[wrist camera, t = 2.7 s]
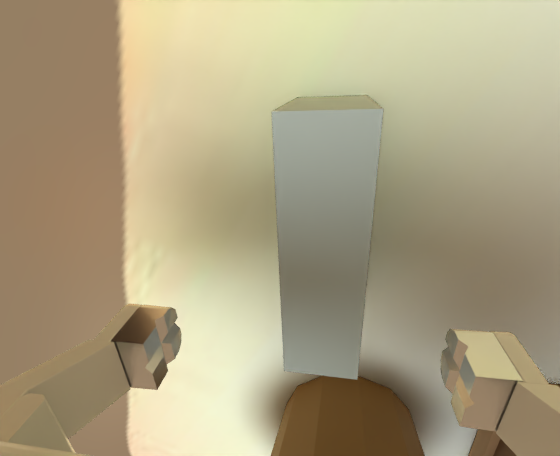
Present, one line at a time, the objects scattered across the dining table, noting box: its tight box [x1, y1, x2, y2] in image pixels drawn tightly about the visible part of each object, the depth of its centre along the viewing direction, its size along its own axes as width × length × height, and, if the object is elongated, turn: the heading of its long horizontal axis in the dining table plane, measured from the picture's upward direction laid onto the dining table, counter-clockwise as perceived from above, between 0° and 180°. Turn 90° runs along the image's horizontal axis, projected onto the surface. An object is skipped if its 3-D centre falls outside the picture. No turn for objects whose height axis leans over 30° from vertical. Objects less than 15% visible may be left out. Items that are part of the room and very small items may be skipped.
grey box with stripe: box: [272, 95, 383, 380], centre depth 16 cm, size 12×4×7 cm, turn 2°
